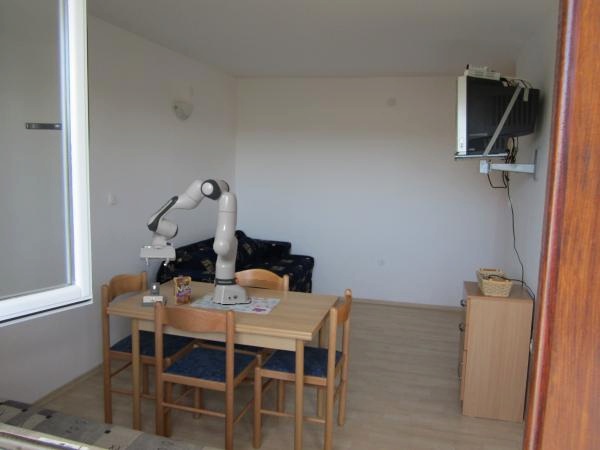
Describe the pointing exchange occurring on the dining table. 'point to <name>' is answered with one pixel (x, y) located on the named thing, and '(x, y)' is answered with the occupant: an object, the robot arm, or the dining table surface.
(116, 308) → the dining table surface
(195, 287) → the dining table surface
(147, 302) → the scale
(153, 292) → the steel weight
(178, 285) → the candy box
